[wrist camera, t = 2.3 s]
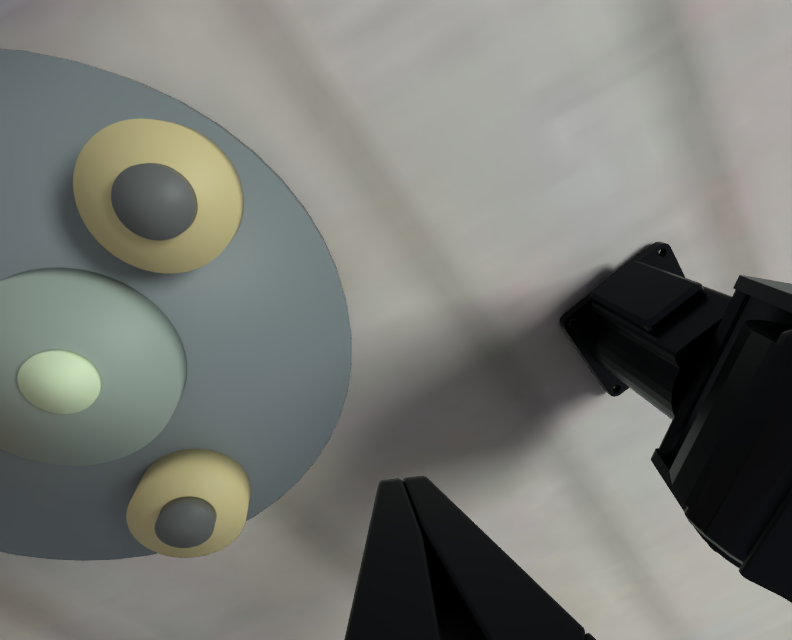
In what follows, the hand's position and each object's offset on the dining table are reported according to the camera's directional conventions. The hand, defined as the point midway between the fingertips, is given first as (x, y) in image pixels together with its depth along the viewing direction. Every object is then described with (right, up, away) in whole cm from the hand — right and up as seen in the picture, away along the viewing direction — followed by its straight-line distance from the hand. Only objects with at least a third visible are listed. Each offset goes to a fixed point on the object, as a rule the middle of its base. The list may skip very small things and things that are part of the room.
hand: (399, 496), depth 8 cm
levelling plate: (-13, +2, +11) cm, 17 cm away
